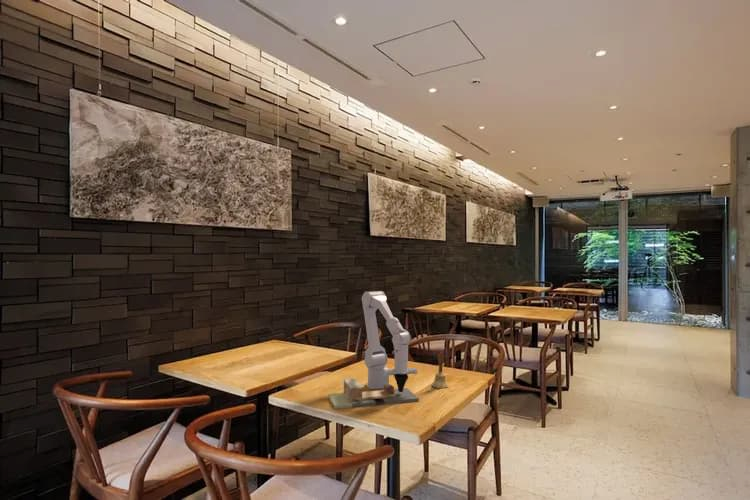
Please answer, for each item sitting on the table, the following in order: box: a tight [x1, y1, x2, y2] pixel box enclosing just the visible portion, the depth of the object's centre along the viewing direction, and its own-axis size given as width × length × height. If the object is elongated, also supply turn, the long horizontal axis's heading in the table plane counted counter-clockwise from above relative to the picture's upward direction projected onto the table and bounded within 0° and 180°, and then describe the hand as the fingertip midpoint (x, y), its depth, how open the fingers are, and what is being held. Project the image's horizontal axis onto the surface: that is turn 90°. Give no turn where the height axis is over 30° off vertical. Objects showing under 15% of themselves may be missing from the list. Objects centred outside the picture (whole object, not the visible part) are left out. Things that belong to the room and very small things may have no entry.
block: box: [346, 385, 359, 398], centre depth 177 cm, size 4×4×4 cm
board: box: [327, 387, 420, 410], centre depth 180 cm, size 36×14×1 cm, turn 107°
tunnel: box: [343, 378, 364, 403], centre depth 177 cm, size 5×12×6 cm, turn 17°
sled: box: [345, 383, 395, 401], centre depth 179 cm, size 20×7×4 cm, turn 107°
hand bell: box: [430, 351, 450, 389], centre depth 200 cm, size 8×8×16 cm
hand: (400, 391), depth 183 cm, fingers closed
